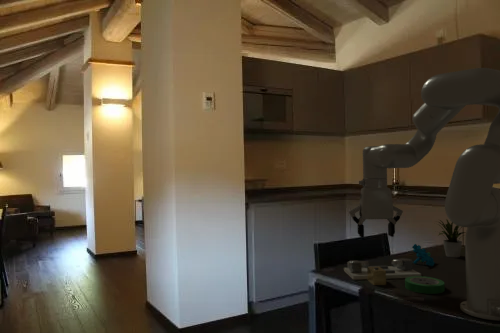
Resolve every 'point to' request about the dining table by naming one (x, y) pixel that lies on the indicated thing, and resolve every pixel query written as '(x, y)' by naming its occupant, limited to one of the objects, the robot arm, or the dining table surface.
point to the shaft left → (357, 265)
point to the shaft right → (402, 264)
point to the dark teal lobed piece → (423, 255)
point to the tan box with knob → (376, 275)
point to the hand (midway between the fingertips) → (376, 236)
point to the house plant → (451, 240)
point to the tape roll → (424, 285)
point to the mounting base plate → (390, 273)
